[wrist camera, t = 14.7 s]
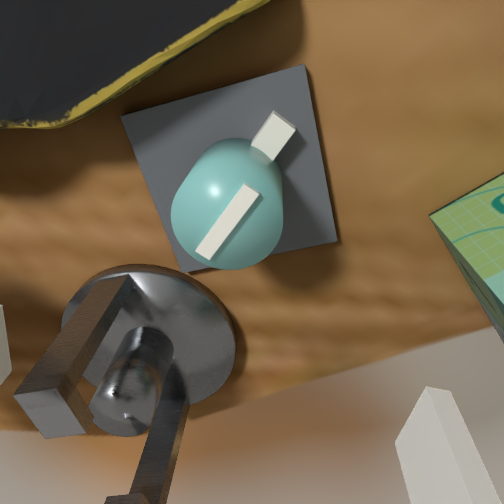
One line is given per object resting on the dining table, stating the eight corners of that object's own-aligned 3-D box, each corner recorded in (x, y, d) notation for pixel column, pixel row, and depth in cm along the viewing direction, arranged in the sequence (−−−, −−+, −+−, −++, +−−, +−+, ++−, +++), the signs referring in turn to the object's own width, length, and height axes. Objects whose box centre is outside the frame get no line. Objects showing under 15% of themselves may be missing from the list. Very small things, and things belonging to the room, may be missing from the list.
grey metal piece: (37, 283, 36) (-85, 408, 24) (206, 247, 33) (164, 367, 21) (111, 406, 43) (45, 551, 31) (255, 384, 40) (245, 534, 28)
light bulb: (244, 87, 27) (233, 104, 20) (322, 146, 28) (335, 179, 22) (161, 215, 31) (130, 262, 25) (231, 260, 33) (219, 315, 26)
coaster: (123, 114, 29) (119, 116, 28) (303, 63, 26) (304, 64, 26) (184, 268, 34) (182, 273, 34) (336, 236, 32) (337, 241, 32)
